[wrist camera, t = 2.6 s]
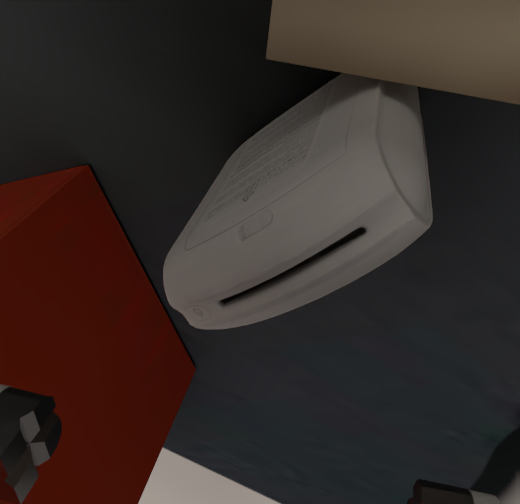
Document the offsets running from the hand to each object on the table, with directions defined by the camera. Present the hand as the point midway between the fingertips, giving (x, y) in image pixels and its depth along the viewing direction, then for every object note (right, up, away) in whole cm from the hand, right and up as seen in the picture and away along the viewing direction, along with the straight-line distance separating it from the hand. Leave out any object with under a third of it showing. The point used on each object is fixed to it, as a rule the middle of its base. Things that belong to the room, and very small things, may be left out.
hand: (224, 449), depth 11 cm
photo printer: (+4, +10, +14) cm, 18 cm away
